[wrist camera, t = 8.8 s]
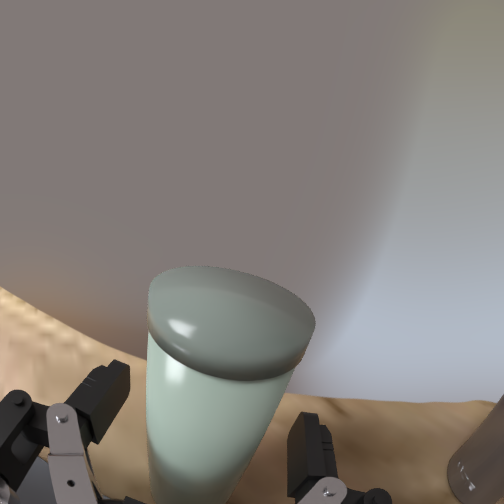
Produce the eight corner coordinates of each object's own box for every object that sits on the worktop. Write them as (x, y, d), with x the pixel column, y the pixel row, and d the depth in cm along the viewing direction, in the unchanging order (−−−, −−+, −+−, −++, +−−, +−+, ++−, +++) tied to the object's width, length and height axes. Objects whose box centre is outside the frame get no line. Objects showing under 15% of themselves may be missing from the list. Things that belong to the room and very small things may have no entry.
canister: (232, 472, 15) (306, 288, 11) (222, 530, 10) (327, 368, 6) (161, 452, 15) (181, 255, 11) (139, 507, 10) (116, 310, 6)
